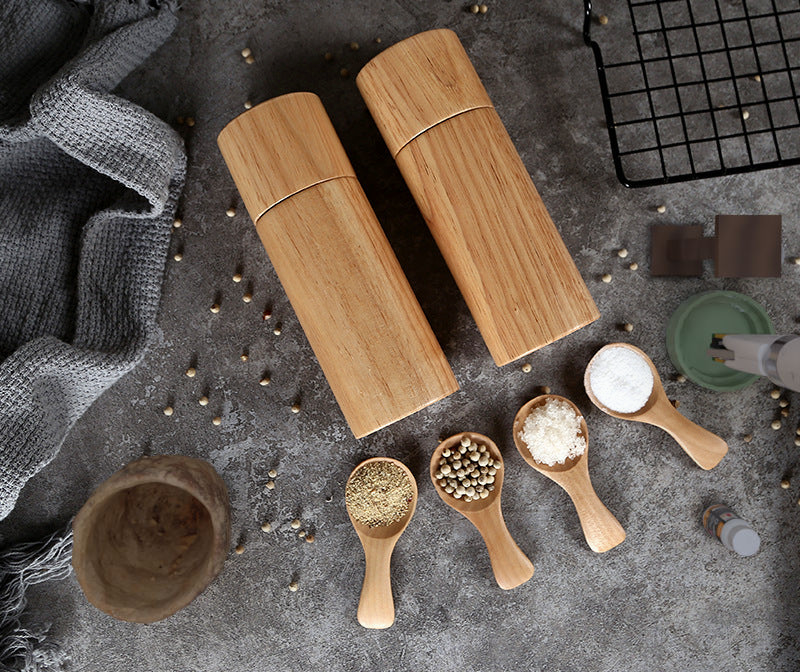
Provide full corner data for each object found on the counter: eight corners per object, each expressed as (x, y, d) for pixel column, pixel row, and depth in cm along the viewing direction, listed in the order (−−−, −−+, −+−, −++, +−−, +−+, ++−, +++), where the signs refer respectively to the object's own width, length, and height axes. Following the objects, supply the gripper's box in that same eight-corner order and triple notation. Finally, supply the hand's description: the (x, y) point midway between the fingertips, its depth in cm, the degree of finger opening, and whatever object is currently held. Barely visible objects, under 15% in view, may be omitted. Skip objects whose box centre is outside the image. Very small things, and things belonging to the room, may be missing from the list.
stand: (699, 225, 116) (782, 214, 91) (699, 275, 116) (781, 277, 91) (650, 225, 116) (719, 214, 91) (650, 275, 116) (718, 277, 91)
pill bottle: (697, 509, 117) (724, 531, 107) (726, 499, 117) (757, 520, 107) (707, 538, 117) (735, 564, 107) (736, 528, 117) (768, 552, 107)
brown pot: (261, 547, 117) (223, 624, 92) (139, 554, 117) (68, 632, 92) (254, 425, 117) (214, 468, 92) (132, 431, 117) (59, 476, 92)
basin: (761, 290, 116) (776, 291, 112) (760, 386, 117) (775, 391, 112) (664, 290, 116) (675, 290, 112) (664, 386, 117) (674, 391, 112)
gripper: (858, 335, 87) (781, 324, 105) (733, 334, 87) (677, 324, 106) (858, 390, 87) (780, 369, 105) (733, 389, 87) (677, 369, 106)
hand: (730, 347), depth 105 cm, fingers closed on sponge, 4 cm apart
